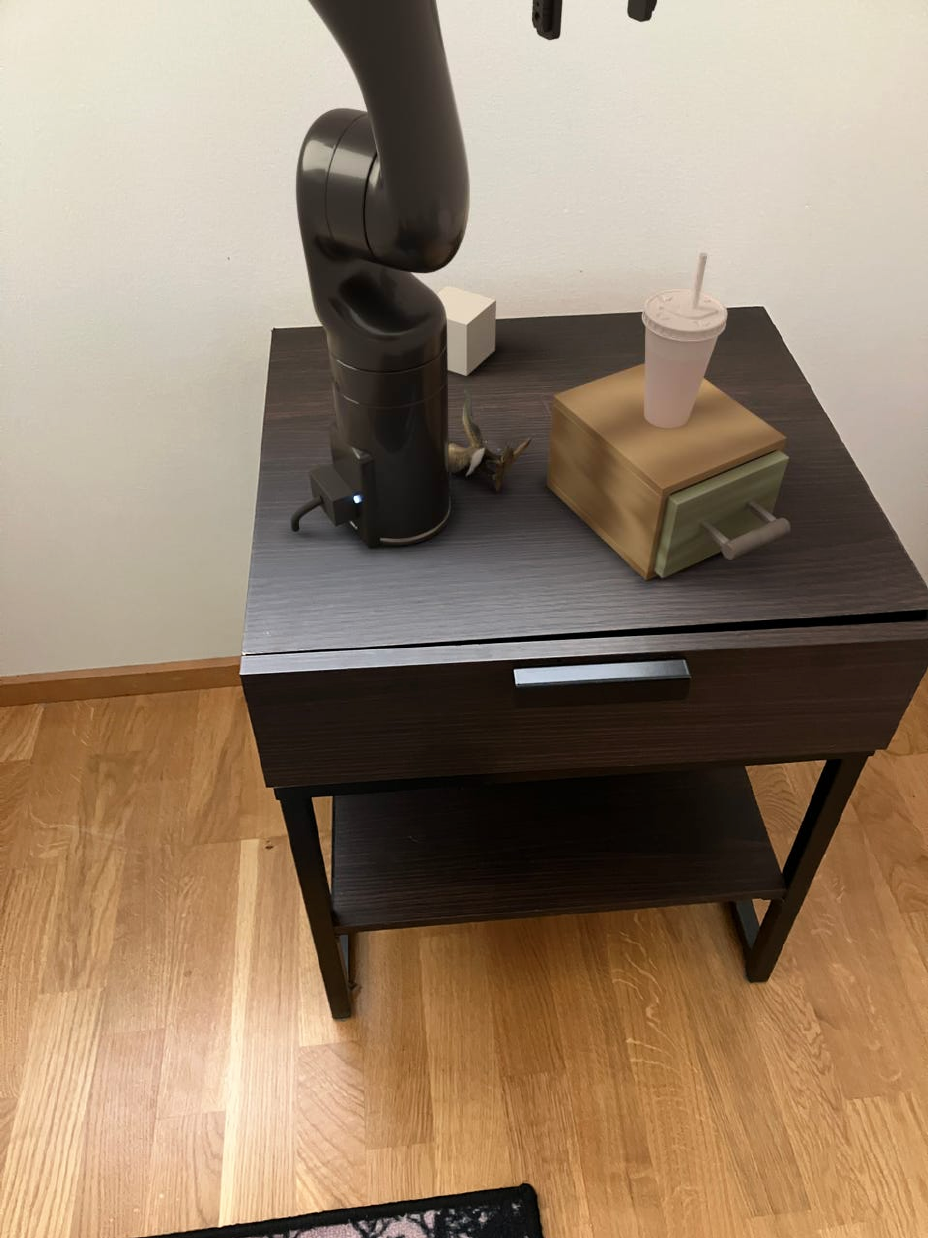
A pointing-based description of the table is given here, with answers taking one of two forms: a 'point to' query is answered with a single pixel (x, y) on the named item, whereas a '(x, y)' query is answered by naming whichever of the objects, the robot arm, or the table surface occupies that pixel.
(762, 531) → the drawer
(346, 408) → the robot arm
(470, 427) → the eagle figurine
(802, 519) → the table surface
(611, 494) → the cabinet
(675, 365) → the smoothie
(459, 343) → the white cube
